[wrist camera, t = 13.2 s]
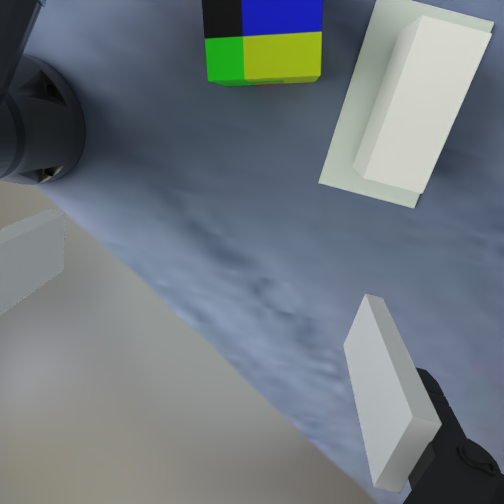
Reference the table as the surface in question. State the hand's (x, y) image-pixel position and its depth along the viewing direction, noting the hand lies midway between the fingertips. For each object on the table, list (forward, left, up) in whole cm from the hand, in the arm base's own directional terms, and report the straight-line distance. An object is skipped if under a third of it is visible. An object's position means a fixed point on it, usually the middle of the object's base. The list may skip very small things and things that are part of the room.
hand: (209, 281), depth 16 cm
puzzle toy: (-3, +14, -32) cm, 35 cm away
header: (+13, +10, -32) cm, 36 cm away
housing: (+13, +10, -30) cm, 34 cm away
